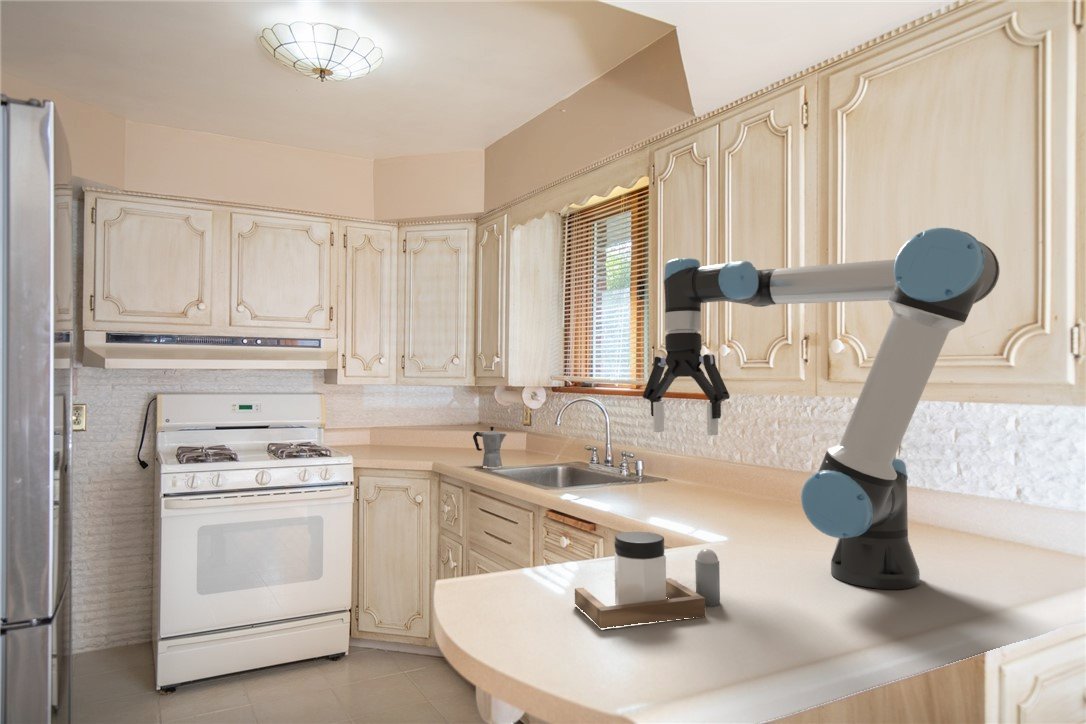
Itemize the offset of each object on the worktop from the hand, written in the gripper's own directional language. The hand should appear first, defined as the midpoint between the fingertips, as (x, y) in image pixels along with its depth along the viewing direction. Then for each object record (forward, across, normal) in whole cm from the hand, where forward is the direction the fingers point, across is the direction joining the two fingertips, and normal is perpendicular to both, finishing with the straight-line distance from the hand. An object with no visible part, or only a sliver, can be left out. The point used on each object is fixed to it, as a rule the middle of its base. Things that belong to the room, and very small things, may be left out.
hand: (684, 433), depth 141 cm
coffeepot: (+26, +147, -63) cm, 162 cm away
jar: (+27, -12, +31) cm, 42 cm away
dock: (+27, -12, +31) cm, 43 cm away
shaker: (+27, -18, +20) cm, 38 cm away
